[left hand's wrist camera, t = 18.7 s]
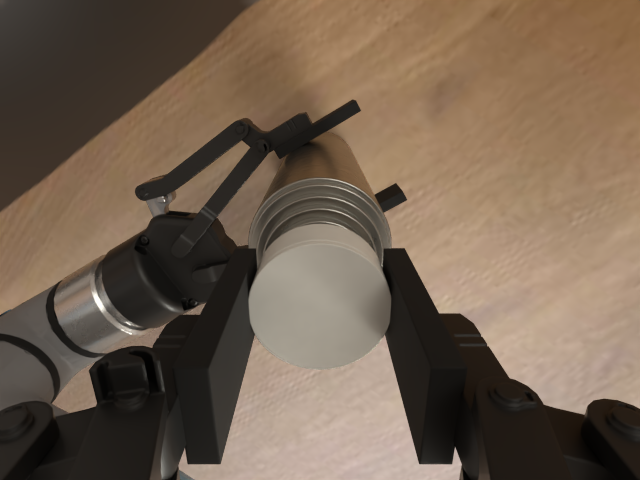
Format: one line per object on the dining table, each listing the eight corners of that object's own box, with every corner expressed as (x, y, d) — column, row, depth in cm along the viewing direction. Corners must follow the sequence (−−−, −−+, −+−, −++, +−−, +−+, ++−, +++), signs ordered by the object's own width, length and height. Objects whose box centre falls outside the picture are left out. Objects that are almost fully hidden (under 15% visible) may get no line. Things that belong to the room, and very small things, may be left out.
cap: (409, 275, 15) (422, 302, 13) (327, 356, 16) (328, 392, 14) (310, 196, 13) (309, 213, 12) (231, 290, 15) (219, 319, 13)
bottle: (270, 155, 36) (184, 273, 13) (332, 116, 34) (355, 170, 12) (308, 214, 38) (291, 405, 15) (368, 179, 36) (448, 328, 14)
